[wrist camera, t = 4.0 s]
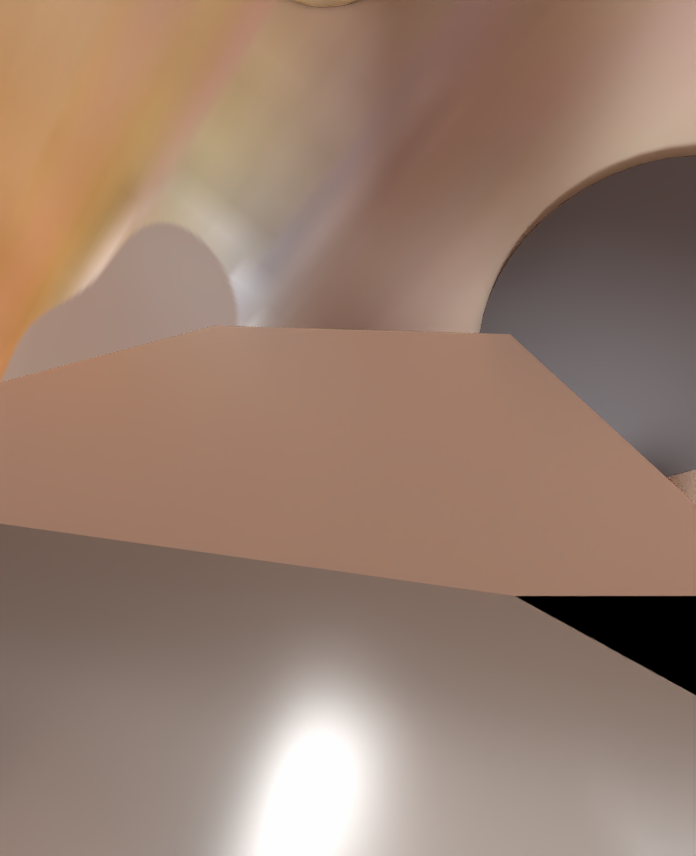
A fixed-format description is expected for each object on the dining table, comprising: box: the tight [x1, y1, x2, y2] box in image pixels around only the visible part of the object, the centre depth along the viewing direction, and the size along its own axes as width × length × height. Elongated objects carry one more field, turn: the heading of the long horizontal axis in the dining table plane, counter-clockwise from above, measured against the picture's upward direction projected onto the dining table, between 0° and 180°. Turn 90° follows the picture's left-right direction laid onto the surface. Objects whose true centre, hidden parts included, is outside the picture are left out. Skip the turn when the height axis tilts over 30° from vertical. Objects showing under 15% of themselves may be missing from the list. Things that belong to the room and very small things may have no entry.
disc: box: [480, 156, 696, 477], centre depth 16 cm, size 12×12×1 cm
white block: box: [0, 326, 696, 856], centre depth 8 cm, size 8×8×9 cm
